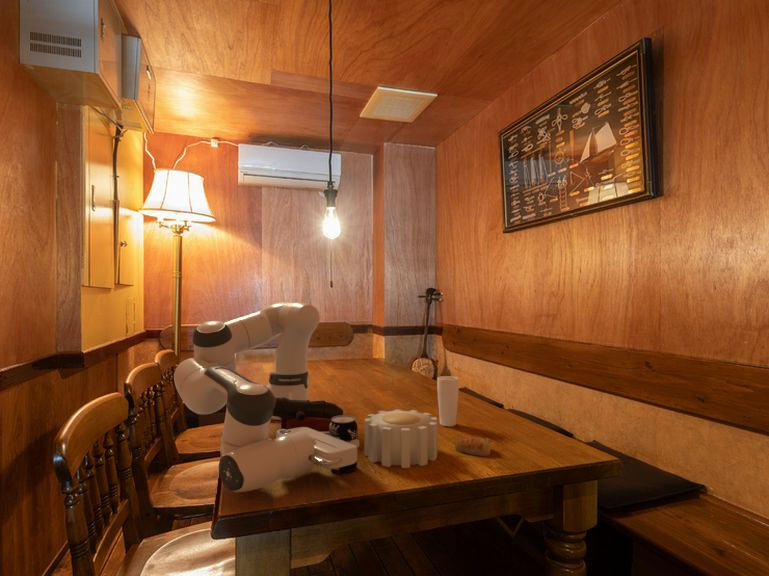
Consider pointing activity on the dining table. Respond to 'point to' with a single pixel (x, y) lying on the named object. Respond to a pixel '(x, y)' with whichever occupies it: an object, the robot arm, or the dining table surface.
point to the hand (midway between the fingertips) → (346, 438)
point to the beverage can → (344, 435)
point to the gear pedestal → (401, 438)
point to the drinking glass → (447, 399)
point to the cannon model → (306, 414)
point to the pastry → (474, 446)
